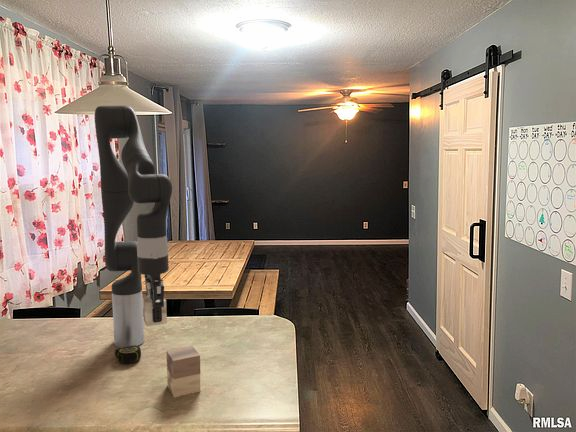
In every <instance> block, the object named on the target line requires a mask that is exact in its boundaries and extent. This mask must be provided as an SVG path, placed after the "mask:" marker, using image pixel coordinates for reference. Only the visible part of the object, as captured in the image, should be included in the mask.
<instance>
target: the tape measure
mask: <svg viewBox="0 0 576 432" xmlns="http://www.w3.org/2000/svg"><path fill="white" fill-rule="evenodd" d="M114 356H115V358H116V359H117V360H118V362H120V363H122V364H130V363H131V364H132V363H135V362H137V361H139V360H140V359H141V357H142V351H141V347H140V346H139V345H138V346H135V345H134V346H127V347H123V348H120V347H117V348H116V349H115V351H114Z"/></svg>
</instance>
